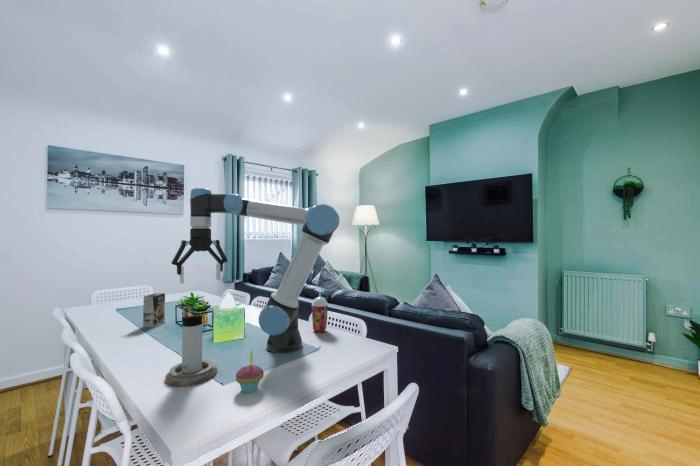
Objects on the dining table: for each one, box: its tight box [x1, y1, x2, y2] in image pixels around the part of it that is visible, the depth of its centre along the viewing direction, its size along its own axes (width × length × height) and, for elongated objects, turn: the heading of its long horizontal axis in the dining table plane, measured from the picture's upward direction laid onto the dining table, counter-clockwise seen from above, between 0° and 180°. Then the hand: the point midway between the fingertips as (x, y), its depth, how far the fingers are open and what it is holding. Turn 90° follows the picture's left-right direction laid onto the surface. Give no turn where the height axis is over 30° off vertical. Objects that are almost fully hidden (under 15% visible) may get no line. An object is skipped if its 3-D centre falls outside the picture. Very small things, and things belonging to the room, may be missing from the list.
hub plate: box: [164, 359, 218, 387], centre depth 111 cm, size 16×16×3 cm
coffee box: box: [142, 292, 166, 328], centre depth 170 cm, size 9×6×16 cm
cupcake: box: [235, 348, 265, 394], centre depth 101 cm, size 9×8×12 cm
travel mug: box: [181, 314, 203, 374], centre depth 111 cm, size 6×7×20 cm
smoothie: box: [310, 291, 329, 334], centre depth 162 cm, size 8×8×20 cm
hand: (200, 281), depth 127 cm, fingers open, 13 cm apart
